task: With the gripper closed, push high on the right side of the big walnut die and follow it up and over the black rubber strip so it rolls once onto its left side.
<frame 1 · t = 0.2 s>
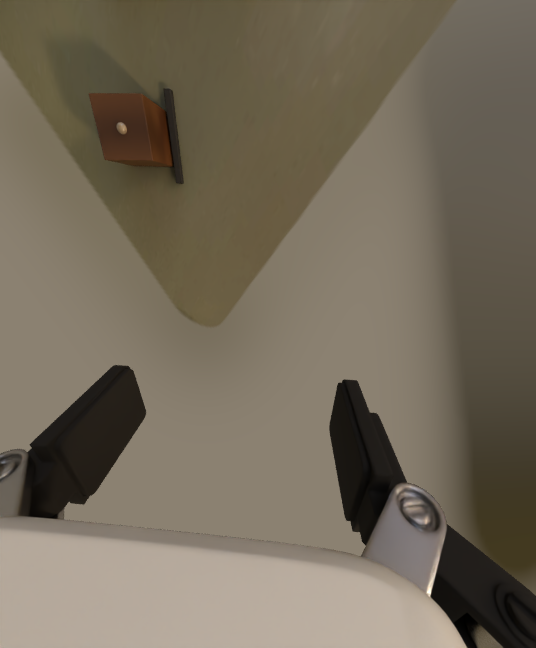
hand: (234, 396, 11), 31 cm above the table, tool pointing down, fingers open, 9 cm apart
stop strip: (175, 140, 32), on the table
die: (149, 140, 32), on the table
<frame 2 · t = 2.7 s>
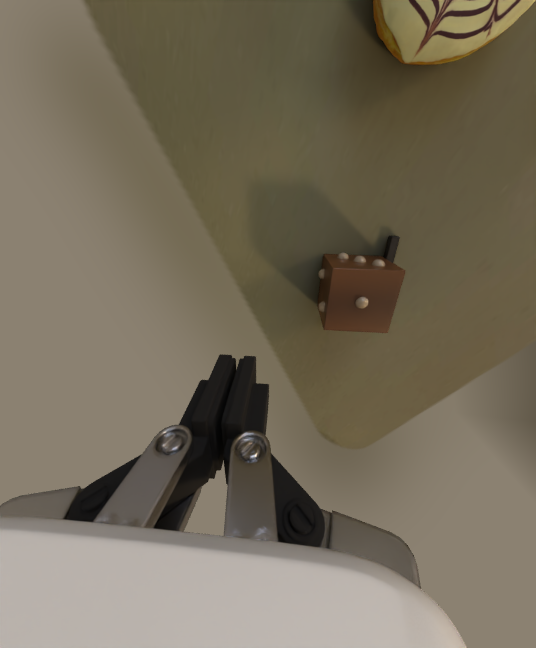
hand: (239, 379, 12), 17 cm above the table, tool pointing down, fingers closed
stop strip: (380, 283, 26), on the table
die: (347, 282, 26), on the table
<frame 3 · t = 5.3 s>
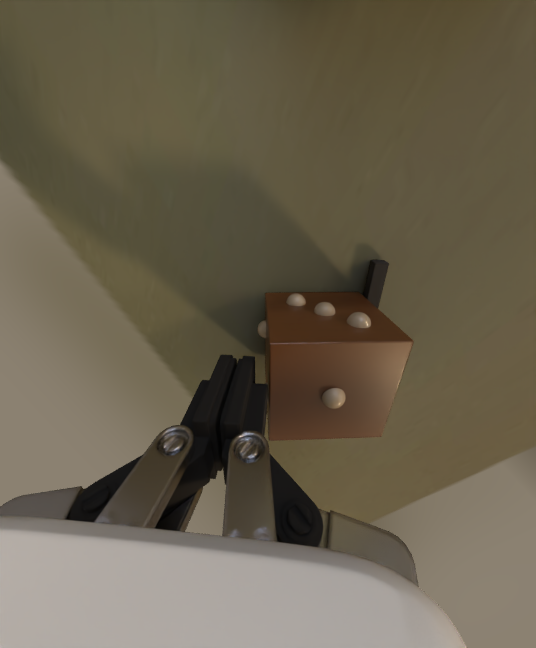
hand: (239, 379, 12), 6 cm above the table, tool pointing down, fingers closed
stop strip: (361, 332, 16), on the table
die: (308, 333, 16), on the table, tilted 7°, touching gripper
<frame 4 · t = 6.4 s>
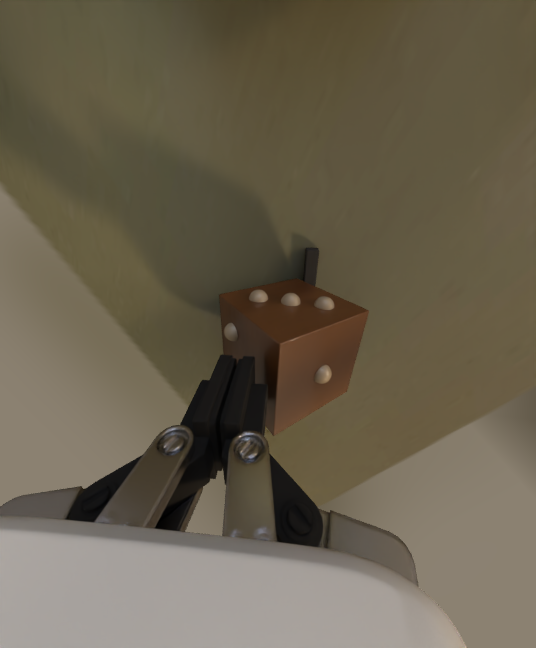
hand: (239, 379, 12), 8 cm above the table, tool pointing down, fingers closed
stop strip: (305, 314, 18), on the table
die: (260, 325, 17), point 2 cm above the table, tilted 39°, touching gripper, stop strip
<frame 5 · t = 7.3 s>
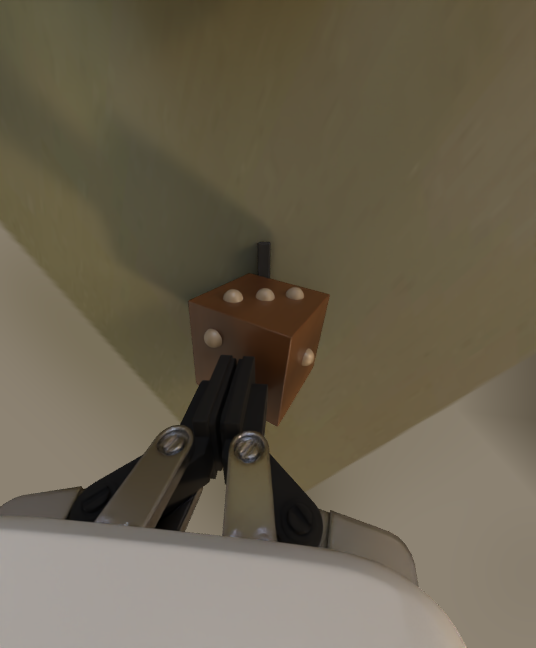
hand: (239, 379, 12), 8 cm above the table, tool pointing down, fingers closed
stop strip: (264, 307, 19), on the table
die: (223, 325, 16), point 3 cm above the table, tilted 66°, touching gripper, stop strip
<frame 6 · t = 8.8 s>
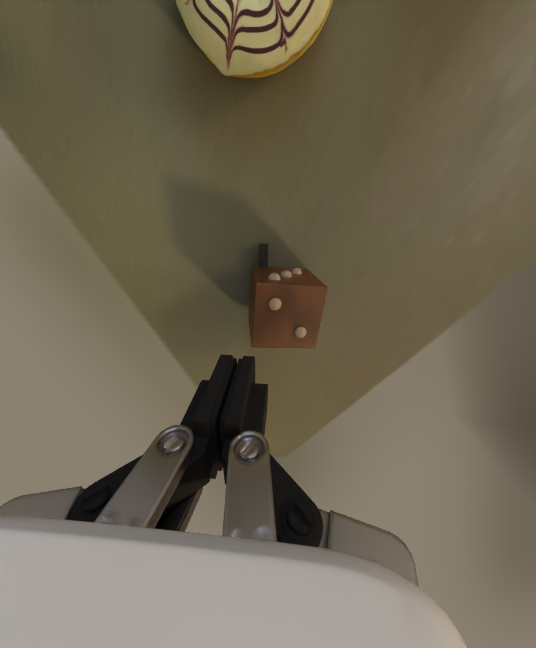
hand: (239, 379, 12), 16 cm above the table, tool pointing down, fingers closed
stop strip: (263, 290, 26), on the table
die: (251, 304, 23), point 4 cm above the table, tilted 101°, touching stop strip
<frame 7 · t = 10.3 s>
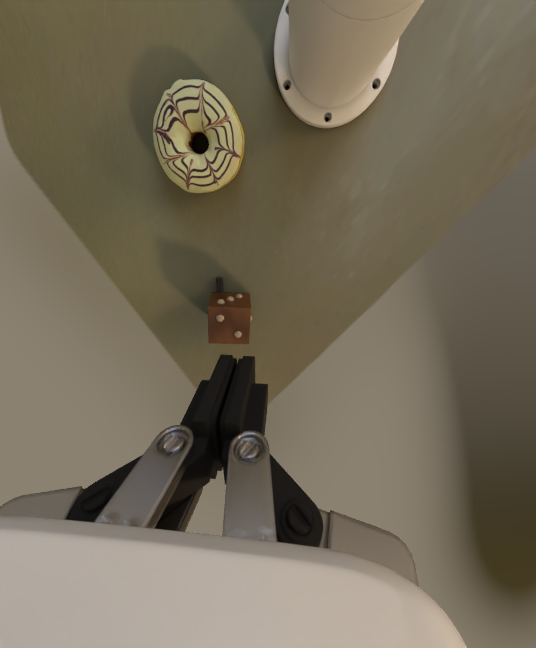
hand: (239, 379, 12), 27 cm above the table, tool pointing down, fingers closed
stop strip: (222, 306, 40), on the table
die: (210, 316, 36), point 4 cm above the table, tilted 101°, touching stop strip
decorated donut: (204, 146, 30), on the table
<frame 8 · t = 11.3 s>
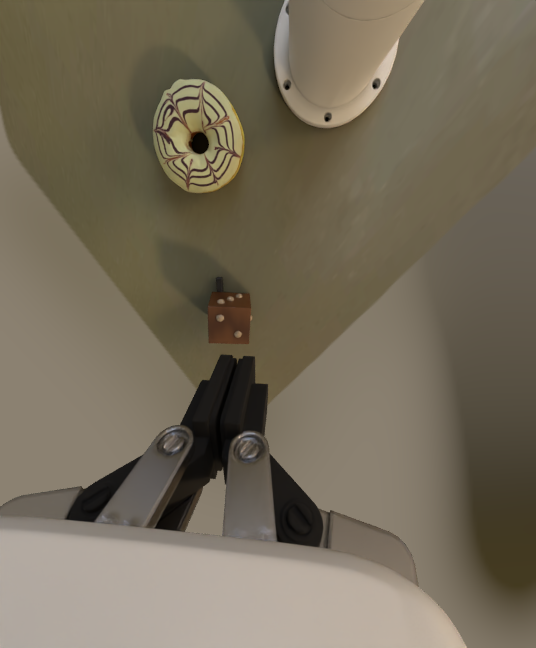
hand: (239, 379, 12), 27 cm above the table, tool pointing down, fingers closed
stop strip: (222, 305, 40), on the table
die: (210, 316, 36), point 4 cm above the table, tilted 101°, touching stop strip
decorated donut: (204, 146, 30), on the table
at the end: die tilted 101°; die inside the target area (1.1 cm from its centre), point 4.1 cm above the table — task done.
